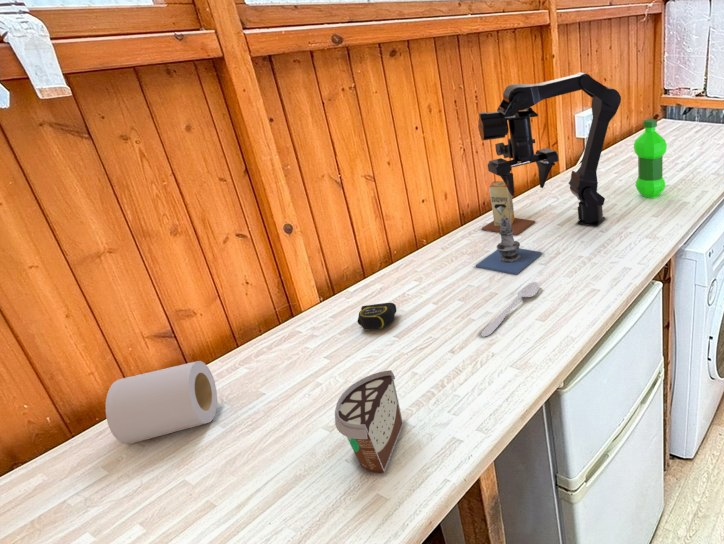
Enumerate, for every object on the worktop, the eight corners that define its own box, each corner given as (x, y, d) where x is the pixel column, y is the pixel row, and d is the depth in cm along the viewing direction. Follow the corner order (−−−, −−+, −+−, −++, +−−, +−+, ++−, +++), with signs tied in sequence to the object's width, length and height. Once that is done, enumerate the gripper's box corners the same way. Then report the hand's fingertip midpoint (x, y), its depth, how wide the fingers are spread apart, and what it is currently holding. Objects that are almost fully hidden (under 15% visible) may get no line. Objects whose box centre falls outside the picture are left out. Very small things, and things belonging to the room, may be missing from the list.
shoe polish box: (498, 219, 158) (493, 181, 152) (514, 218, 157) (510, 181, 152) (494, 225, 153) (489, 187, 148) (511, 225, 153) (506, 186, 148)
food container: (366, 420, 83) (351, 371, 79) (406, 417, 84) (392, 367, 79) (335, 485, 72) (315, 431, 68) (380, 481, 72) (363, 427, 68)
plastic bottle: (636, 190, 179) (635, 117, 169) (667, 190, 178) (667, 117, 167) (633, 200, 170) (631, 124, 160) (665, 200, 169) (665, 124, 158)
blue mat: (541, 254, 136) (541, 252, 136) (516, 274, 126) (516, 272, 126) (503, 247, 141) (503, 245, 140) (476, 267, 131) (475, 264, 130)
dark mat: (534, 222, 156) (534, 220, 156) (516, 235, 148) (516, 233, 147) (501, 217, 160) (501, 215, 160) (481, 229, 152) (481, 228, 152)
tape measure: (399, 313, 112) (395, 298, 110) (392, 331, 106) (388, 316, 104) (365, 317, 111) (361, 302, 109) (357, 336, 105) (352, 320, 103)
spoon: (544, 289, 119) (543, 282, 119) (491, 339, 102) (490, 332, 102) (528, 286, 121) (528, 279, 120) (474, 334, 104) (473, 327, 103)
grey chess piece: (524, 253, 136) (518, 210, 131) (517, 263, 130) (512, 219, 125) (502, 252, 136) (496, 210, 131) (495, 263, 131) (488, 219, 126)
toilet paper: (126, 458, 78) (96, 406, 74) (150, 414, 86) (124, 366, 82) (206, 436, 81) (182, 386, 77) (222, 396, 90) (200, 349, 85)
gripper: (536, 124, 147) (541, 177, 153) (474, 136, 136) (483, 192, 143) (557, 131, 139) (562, 186, 145) (494, 143, 128) (502, 202, 135)
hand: (527, 191), depth 142 cm, fingers open, 9 cm apart
